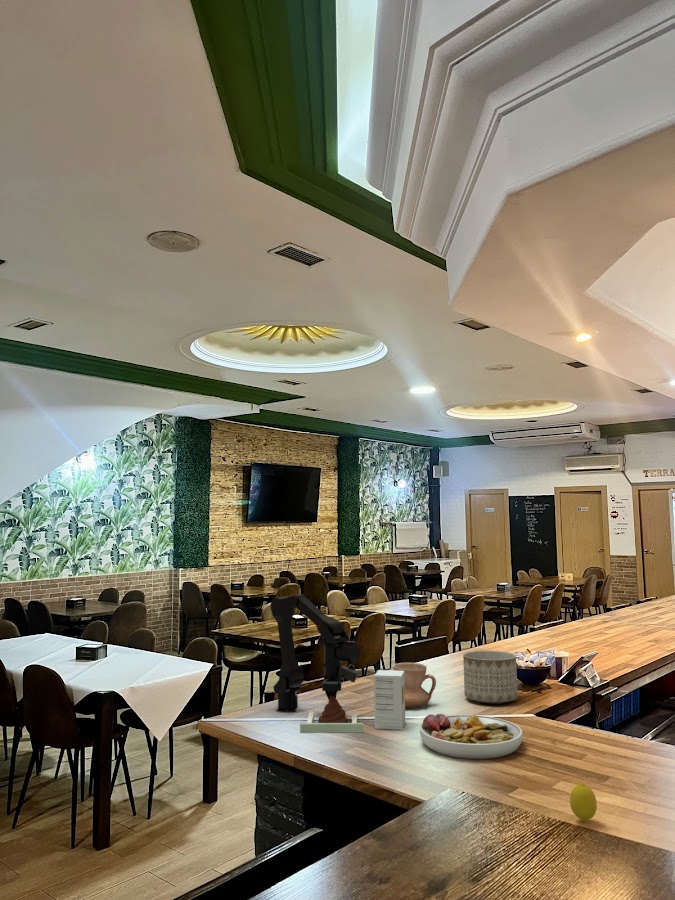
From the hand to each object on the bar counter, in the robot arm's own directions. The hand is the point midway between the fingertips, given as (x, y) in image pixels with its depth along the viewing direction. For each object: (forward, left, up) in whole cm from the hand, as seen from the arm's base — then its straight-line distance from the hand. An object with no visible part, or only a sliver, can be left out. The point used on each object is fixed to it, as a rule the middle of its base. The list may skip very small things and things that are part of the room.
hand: (332, 706), depth 229 cm
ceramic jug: (+28, +19, -5) cm, 34 cm away
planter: (+58, +26, -5) cm, 64 cm away
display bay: (0, -6, -5) cm, 7 cm away
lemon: (+58, -79, -5) cm, 98 cm away
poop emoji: (0, -5, -5) cm, 7 cm away
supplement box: (+19, -6, -5) cm, 21 cm away
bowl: (+42, -26, -5) cm, 50 cm away
